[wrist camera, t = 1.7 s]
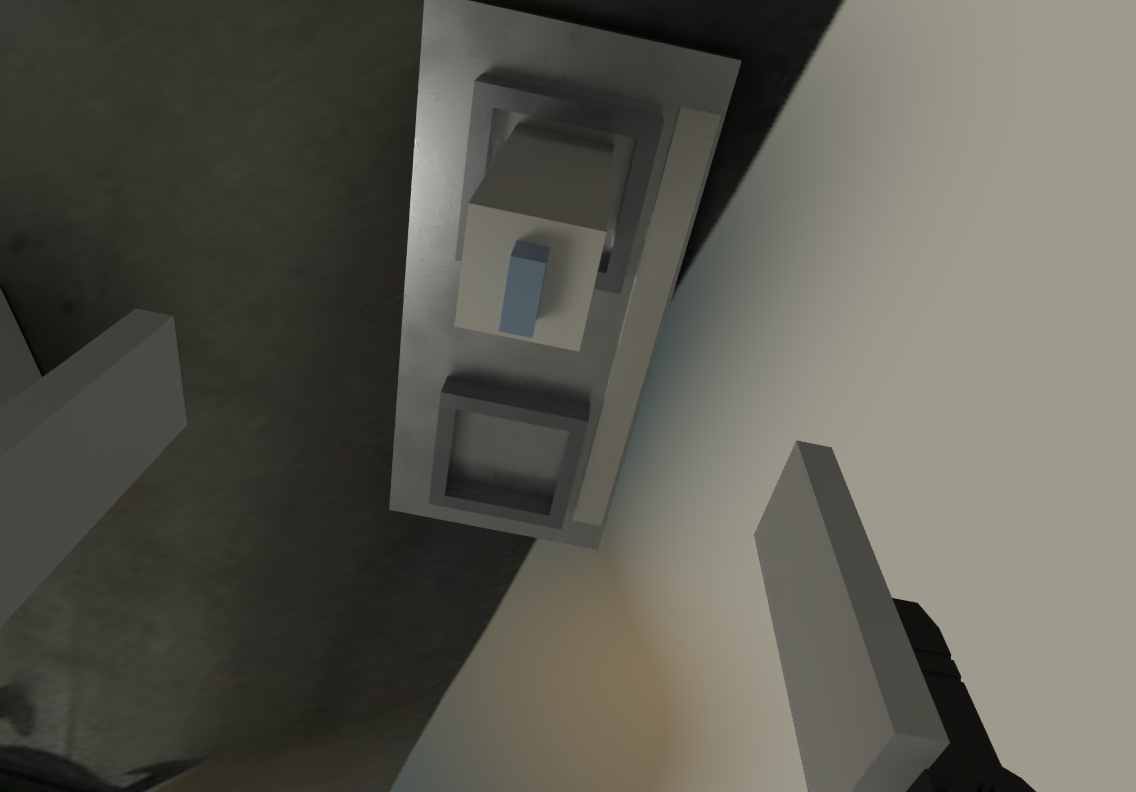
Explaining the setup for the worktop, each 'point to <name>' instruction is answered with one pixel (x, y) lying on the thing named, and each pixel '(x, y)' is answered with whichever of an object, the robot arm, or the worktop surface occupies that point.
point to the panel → (623, 283)
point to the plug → (536, 239)
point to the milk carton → (14, 357)
